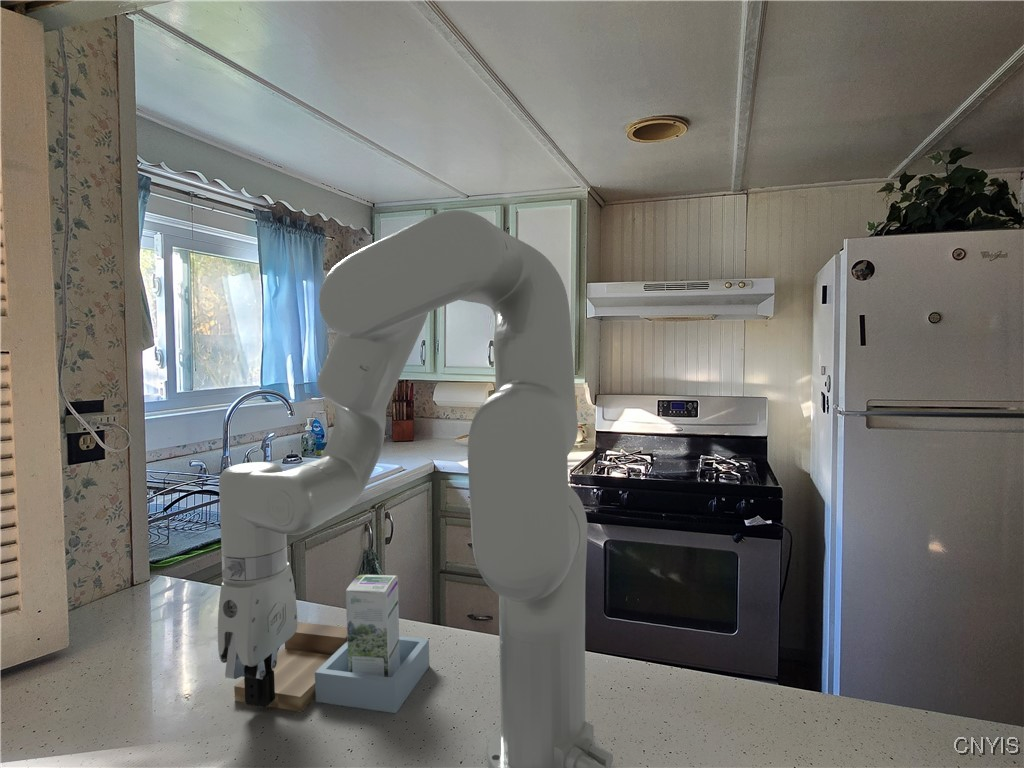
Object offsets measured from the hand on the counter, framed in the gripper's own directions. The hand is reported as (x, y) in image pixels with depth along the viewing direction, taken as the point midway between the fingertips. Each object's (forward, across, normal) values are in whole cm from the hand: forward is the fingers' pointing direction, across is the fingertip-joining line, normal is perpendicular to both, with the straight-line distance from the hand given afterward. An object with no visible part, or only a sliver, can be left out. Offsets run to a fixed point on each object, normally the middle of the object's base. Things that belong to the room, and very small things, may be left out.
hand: (260, 702), depth 76 cm
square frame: (+1, +9, -11) cm, 15 cm away
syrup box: (+2, +9, -11) cm, 15 cm away
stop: (+1, +13, 0) cm, 13 cm away
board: (+1, +6, 0) cm, 6 cm away
